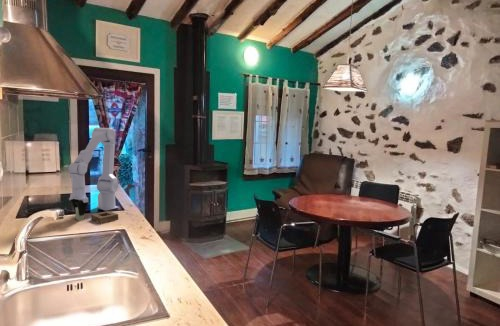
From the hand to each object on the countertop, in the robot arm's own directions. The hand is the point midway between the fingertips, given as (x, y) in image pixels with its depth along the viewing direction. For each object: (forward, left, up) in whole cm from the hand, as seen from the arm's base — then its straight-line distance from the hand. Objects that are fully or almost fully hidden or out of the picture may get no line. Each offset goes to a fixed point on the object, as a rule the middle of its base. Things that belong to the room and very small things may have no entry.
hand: (80, 214), depth 163 cm
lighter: (-14, +5, -3) cm, 15 cm away
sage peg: (0, 0, -2) cm, 2 cm away
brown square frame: (+10, +8, -2) cm, 12 cm away
